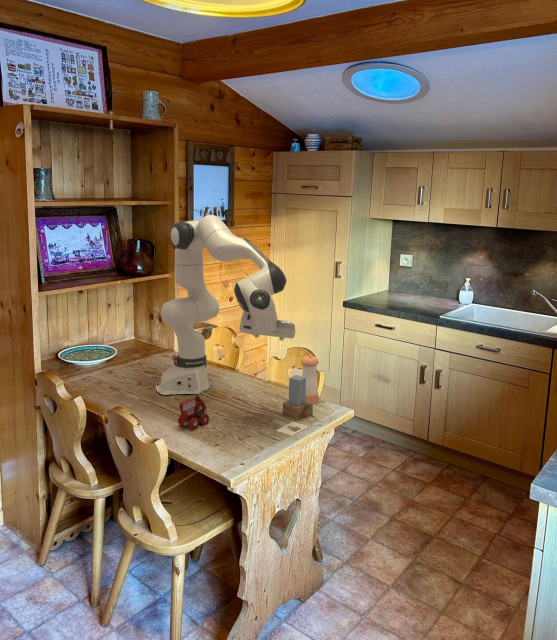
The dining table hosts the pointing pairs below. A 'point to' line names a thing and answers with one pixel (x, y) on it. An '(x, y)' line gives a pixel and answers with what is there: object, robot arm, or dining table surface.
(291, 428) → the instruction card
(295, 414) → the walnut block
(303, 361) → the pepper shaker
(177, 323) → the robot arm
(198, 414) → the toy fire truck
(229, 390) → the dining table surface
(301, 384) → the gray brick
